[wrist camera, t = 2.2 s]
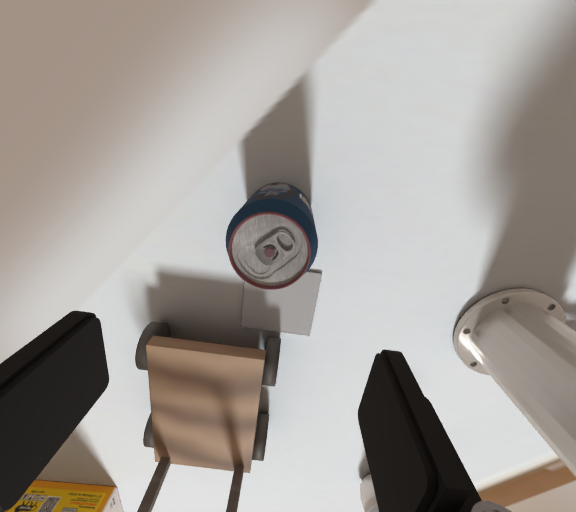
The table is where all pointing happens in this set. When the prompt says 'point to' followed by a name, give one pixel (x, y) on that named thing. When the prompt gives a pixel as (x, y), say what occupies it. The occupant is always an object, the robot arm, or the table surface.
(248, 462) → the trolley
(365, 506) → the plastic bottle
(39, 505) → the packaging box
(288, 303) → the mat
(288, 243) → the soda can
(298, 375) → the table surface
